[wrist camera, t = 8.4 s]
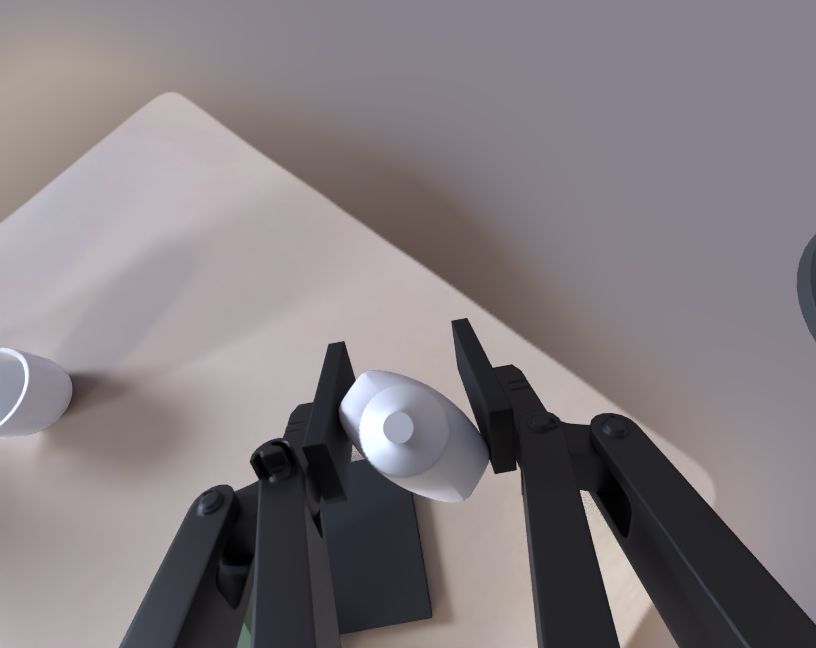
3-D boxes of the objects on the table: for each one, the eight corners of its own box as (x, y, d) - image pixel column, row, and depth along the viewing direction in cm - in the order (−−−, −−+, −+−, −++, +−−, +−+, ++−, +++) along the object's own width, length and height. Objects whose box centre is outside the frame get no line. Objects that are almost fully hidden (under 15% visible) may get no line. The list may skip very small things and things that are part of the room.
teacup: (60, 345, 37) (0, 330, 32) (103, 391, 35) (46, 382, 30) (-23, 424, 35) (-101, 422, 30) (18, 477, 33) (-58, 484, 28)
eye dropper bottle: (430, 371, 21) (424, 284, 9) (481, 464, 19) (553, 501, 7) (362, 407, 20) (268, 365, 9) (408, 506, 18) (364, 611, 7)
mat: (405, 451, 31) (404, 452, 31) (432, 614, 28) (432, 618, 27) (271, 476, 32) (268, 477, 31) (280, 642, 28) (277, 646, 27)
